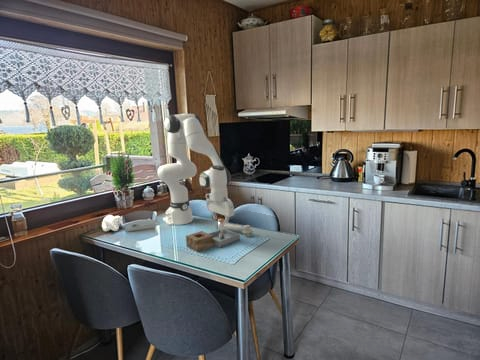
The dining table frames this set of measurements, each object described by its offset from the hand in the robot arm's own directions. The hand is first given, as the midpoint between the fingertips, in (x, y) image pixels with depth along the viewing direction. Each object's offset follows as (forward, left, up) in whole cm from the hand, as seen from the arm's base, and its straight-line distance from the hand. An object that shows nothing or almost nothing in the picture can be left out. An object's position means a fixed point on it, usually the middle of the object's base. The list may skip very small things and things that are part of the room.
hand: (220, 221), depth 169 cm
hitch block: (-2, -13, -11) cm, 17 cm away
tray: (0, 0, -11) cm, 11 cm away
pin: (0, 0, -10) cm, 10 cm away
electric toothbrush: (-5, +13, -12) cm, 18 cm away
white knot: (-65, -37, -11) cm, 76 cm away
